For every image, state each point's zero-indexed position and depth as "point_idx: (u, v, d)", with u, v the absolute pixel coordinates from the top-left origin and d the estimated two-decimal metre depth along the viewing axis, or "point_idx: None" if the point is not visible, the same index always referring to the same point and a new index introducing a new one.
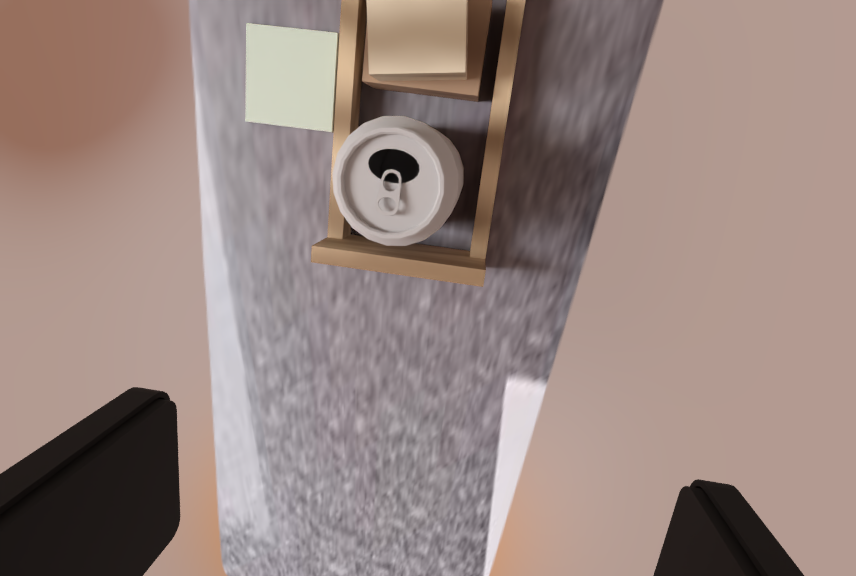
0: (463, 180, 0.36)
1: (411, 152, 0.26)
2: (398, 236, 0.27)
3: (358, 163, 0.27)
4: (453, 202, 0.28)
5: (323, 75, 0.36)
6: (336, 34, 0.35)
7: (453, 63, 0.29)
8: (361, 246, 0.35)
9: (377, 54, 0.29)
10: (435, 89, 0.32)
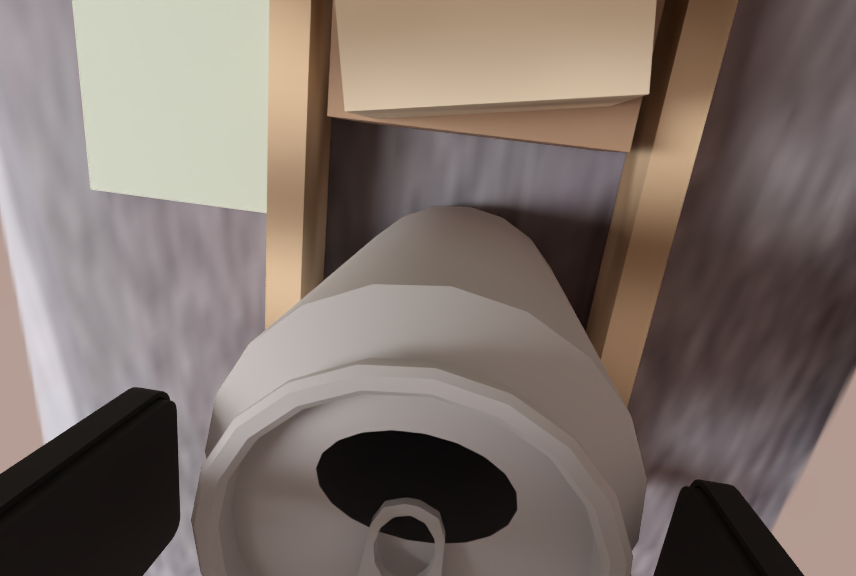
0: None
1: (486, 450, 0.06)
2: None
3: (279, 470, 0.07)
4: None
5: (247, 93, 0.16)
6: None
7: (610, 68, 0.09)
8: None
9: (366, 49, 0.09)
10: (516, 136, 0.12)
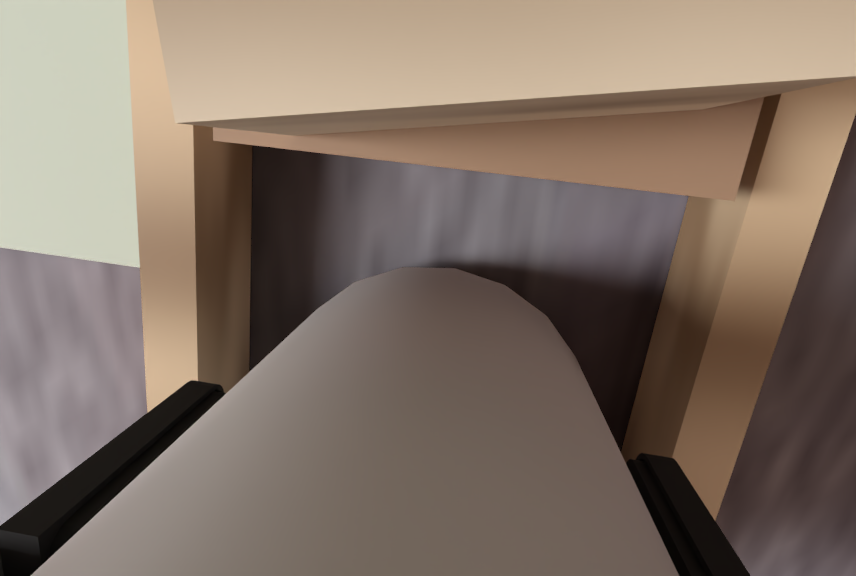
0: None
1: None
2: None
3: None
4: None
5: (125, 99, 0.11)
6: None
7: (779, 14, 0.04)
8: None
9: None
10: (536, 173, 0.07)
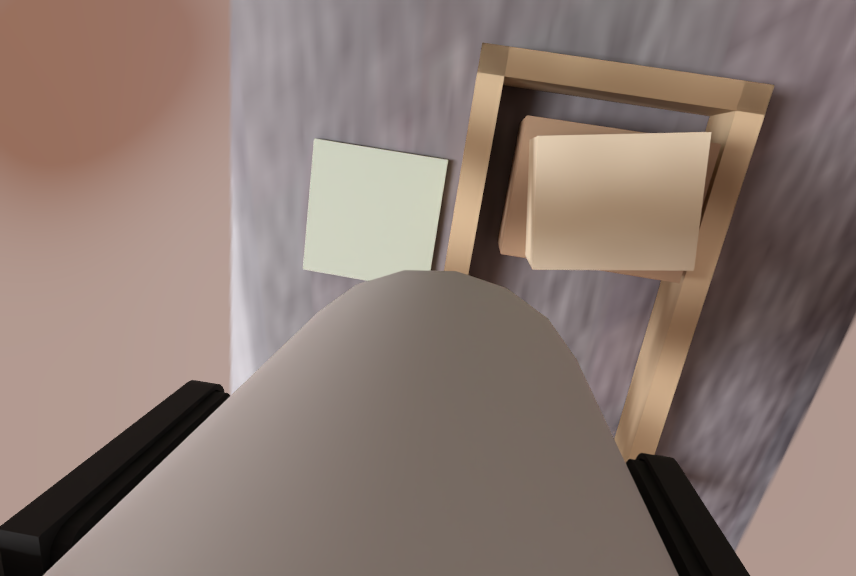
0: None
1: None
2: None
3: None
4: None
5: (421, 216, 0.25)
6: (446, 161, 0.24)
7: (674, 257, 0.18)
8: None
9: (548, 241, 0.18)
10: (613, 271, 0.21)
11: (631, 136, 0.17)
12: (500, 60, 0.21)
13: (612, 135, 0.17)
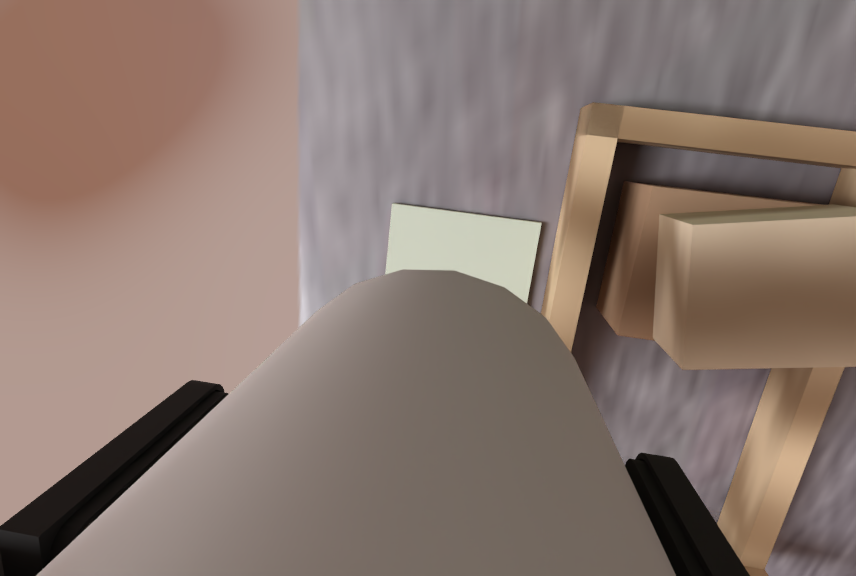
0: None
1: None
2: None
3: None
4: None
5: (511, 283, 0.23)
6: (539, 225, 0.22)
7: (852, 352, 0.16)
8: None
9: (702, 339, 0.16)
10: None
11: (805, 221, 0.15)
12: (613, 121, 0.18)
13: (782, 221, 0.15)
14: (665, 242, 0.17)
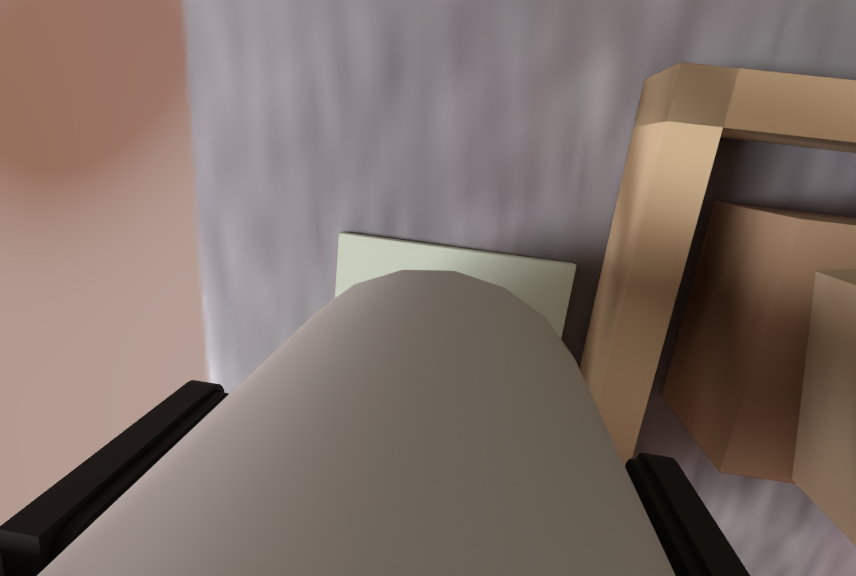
0: None
1: None
2: None
3: None
4: None
5: None
6: (572, 268, 0.14)
7: None
8: None
9: None
10: None
11: None
12: (716, 97, 0.10)
13: None
14: (837, 327, 0.09)
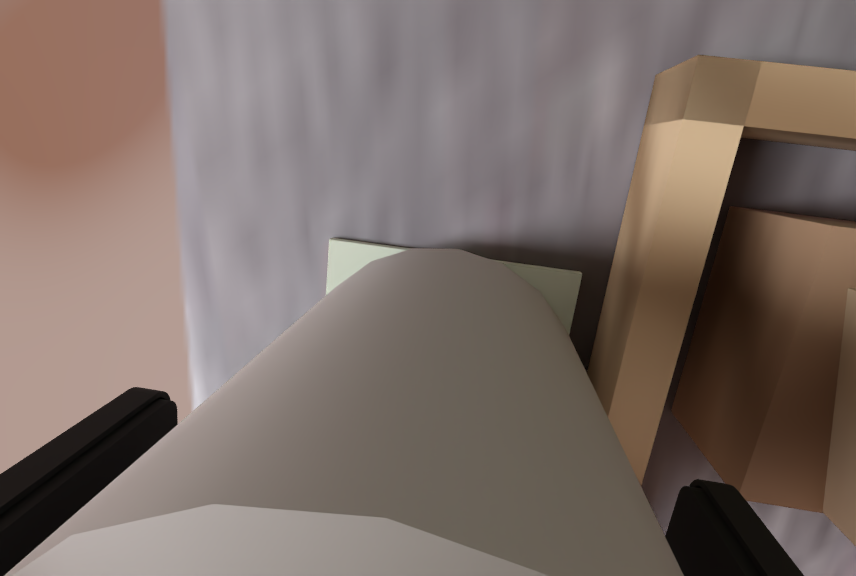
0: None
1: None
2: None
3: None
4: None
5: None
6: (578, 277, 0.13)
7: None
8: None
9: None
10: None
11: None
12: (736, 92, 0.09)
13: None
14: None
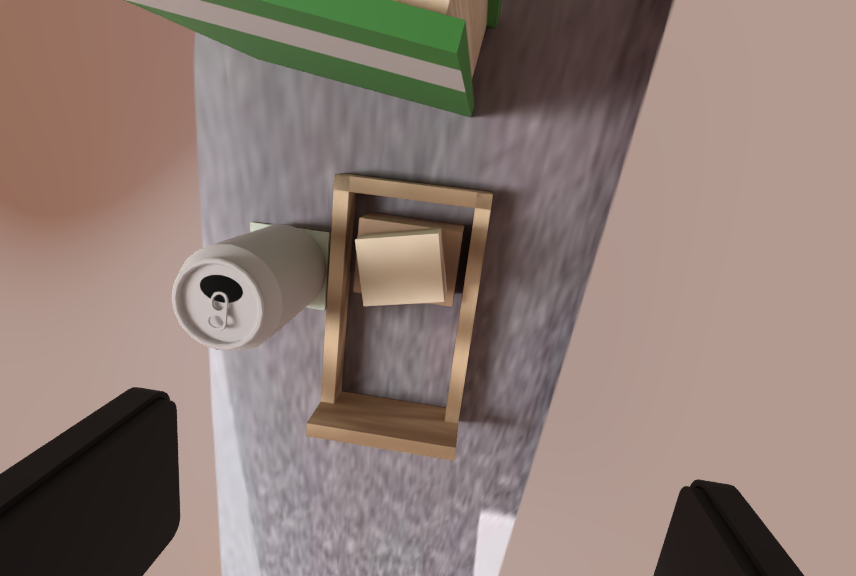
0: (325, 272, 0.40)
1: (234, 278, 0.30)
2: (228, 347, 0.31)
3: (191, 285, 0.31)
4: (279, 316, 0.32)
5: None
6: (328, 234, 0.41)
7: (433, 296, 0.34)
8: (350, 416, 0.41)
9: (368, 291, 0.35)
10: None
11: (400, 237, 0.34)
12: (345, 183, 0.37)
13: (391, 237, 0.34)
14: None
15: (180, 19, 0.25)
